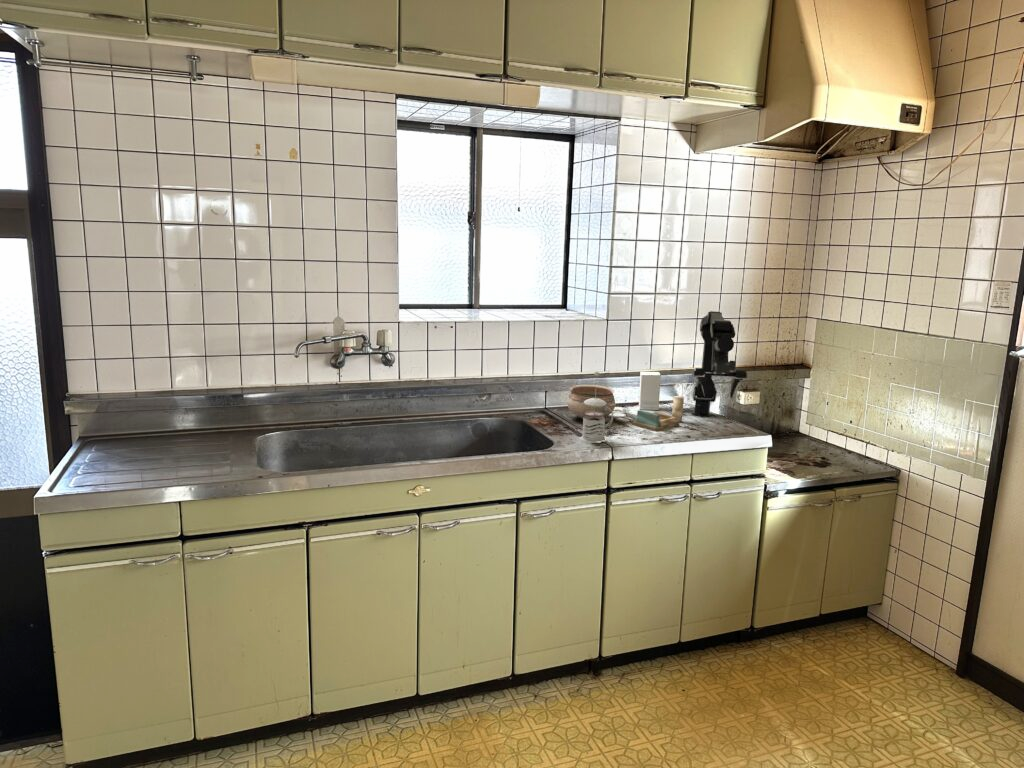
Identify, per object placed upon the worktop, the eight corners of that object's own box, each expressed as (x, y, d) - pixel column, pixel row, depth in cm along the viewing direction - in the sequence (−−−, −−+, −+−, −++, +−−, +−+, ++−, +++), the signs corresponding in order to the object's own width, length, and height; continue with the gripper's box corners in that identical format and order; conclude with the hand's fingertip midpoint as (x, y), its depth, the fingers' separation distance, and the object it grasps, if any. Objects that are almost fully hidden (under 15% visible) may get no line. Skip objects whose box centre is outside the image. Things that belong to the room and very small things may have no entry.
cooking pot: (551, 416, 287) (552, 386, 284) (584, 409, 299) (585, 381, 296) (596, 430, 268) (598, 398, 266) (629, 422, 280) (632, 392, 277)
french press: (577, 435, 260) (580, 368, 255) (608, 436, 261) (612, 369, 256) (581, 443, 251) (585, 374, 245) (614, 443, 251) (618, 374, 246)
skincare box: (657, 407, 307) (660, 371, 303) (658, 411, 300) (661, 374, 297) (637, 406, 308) (640, 370, 304) (638, 409, 301) (641, 373, 298)
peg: (675, 419, 287) (677, 395, 285) (683, 421, 284) (685, 397, 282) (669, 421, 284) (671, 396, 282) (678, 423, 282) (680, 398, 279)
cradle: (656, 418, 287) (657, 405, 286) (679, 424, 279) (680, 410, 278) (632, 424, 277) (633, 410, 276) (655, 431, 269) (656, 416, 268)
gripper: (697, 351, 253) (695, 395, 253) (751, 354, 251) (749, 398, 250) (693, 354, 264) (690, 395, 264) (744, 356, 262) (742, 398, 261)
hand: (718, 397), depth 259 cm, fingers open, 9 cm apart
